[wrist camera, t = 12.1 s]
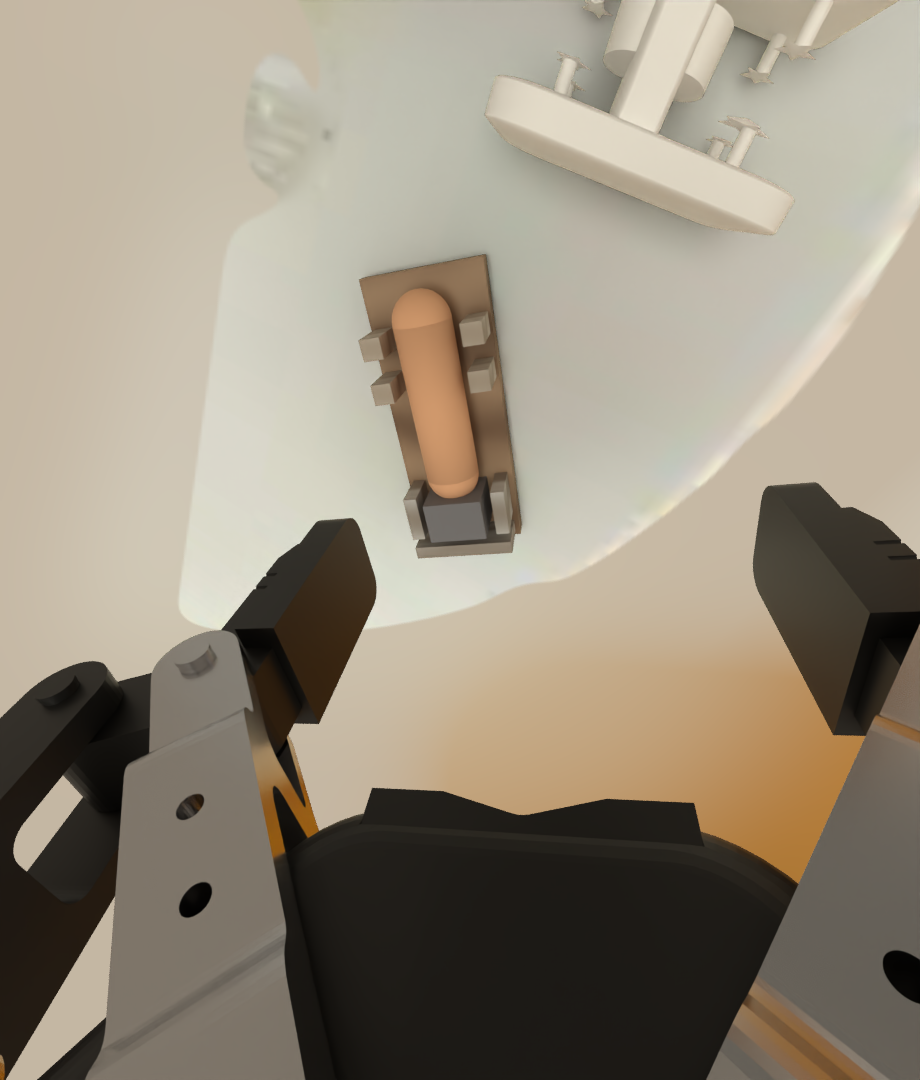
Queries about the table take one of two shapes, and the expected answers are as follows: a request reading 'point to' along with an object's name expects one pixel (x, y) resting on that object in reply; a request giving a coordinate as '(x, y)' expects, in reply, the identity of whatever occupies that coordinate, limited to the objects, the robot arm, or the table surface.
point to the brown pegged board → (483, 388)
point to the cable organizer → (647, 93)
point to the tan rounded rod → (441, 418)
